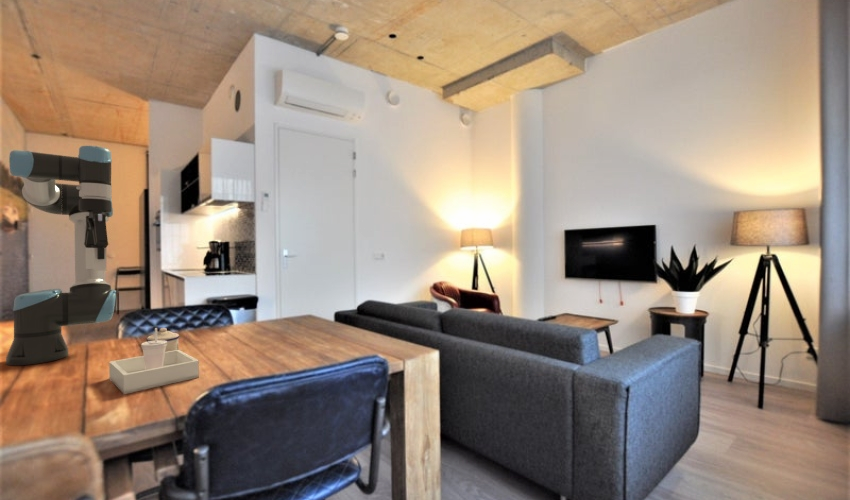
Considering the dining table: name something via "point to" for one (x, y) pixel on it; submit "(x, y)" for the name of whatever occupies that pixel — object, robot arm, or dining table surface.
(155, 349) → the smoothie
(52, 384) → the dining table surface
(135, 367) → the bin
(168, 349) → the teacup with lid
